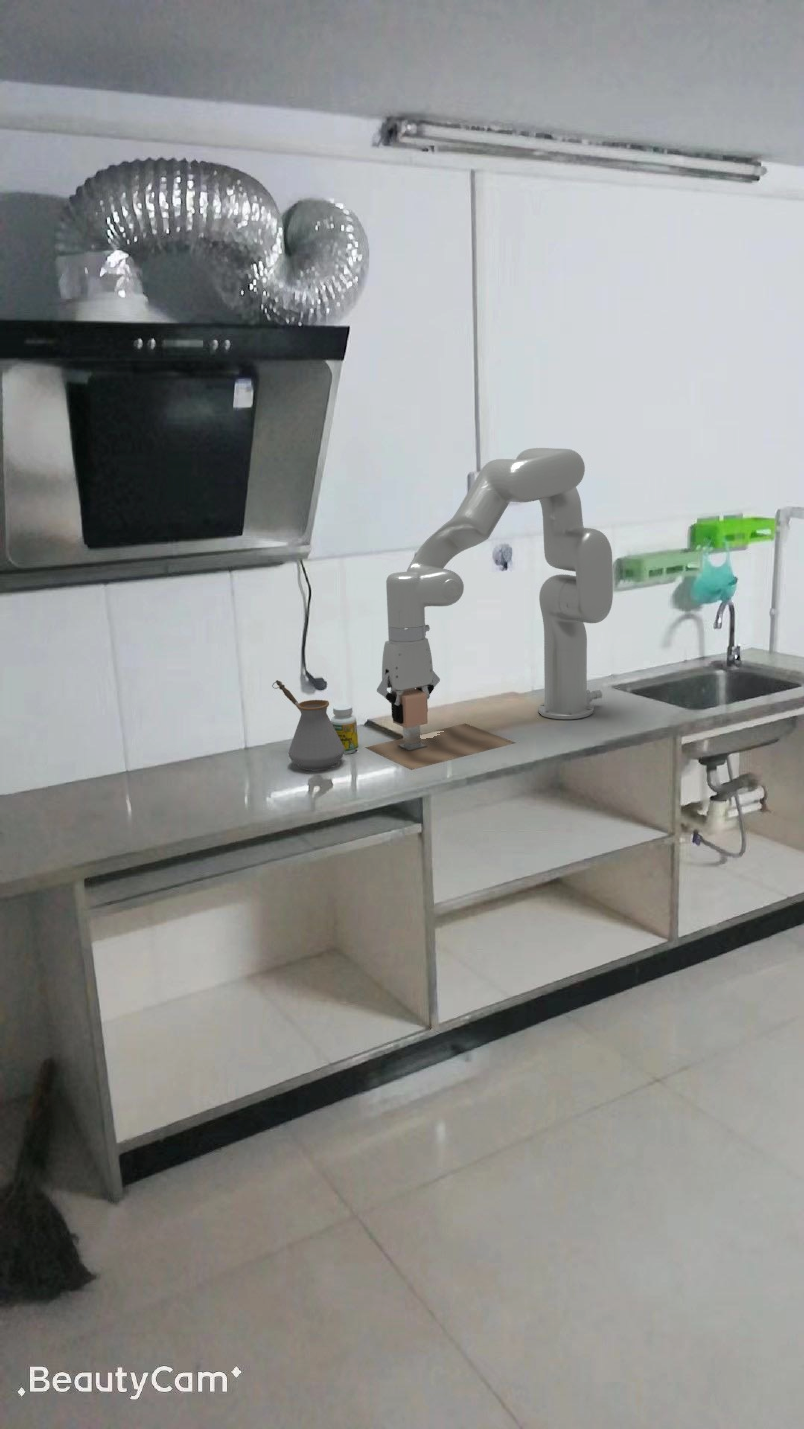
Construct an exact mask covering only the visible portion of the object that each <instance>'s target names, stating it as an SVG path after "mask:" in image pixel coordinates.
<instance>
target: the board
mask: <svg viewBox="0 0 804 1429" xmlns="http://www.w3.org/2000/svg"><path fill="white" fill-rule="evenodd" d="M435 731H444V732H440V733H437V734H440V735H437V736H434V737H433V738H426V739H421V743H422V744H424V745H427V747H425V748H421V749H416V750H412V751H407V750H405V749H403V748H401V747H399V746H398V745H399V744H403V743H404V741H403V738H399V739H395V740H391V741H386V742H383V743H378V744H374V745H370V746H366V747H365V749H367V750H369V751H372V752H373V753H375V754H376V755H379V756H382V757H384V758H386V759H388V760H390V761H392V762H394V763H396V764H398V765H401V766H402V767H404V768H407V769H409V770H411V771H412V770H416V769H420V768H424V767H428V766H432V765H435V764H439V763H444V762H447V761H452V760H455V759H458V758H459V759H460V758H462V757H466V756H470V755H474V754H478V753H483V752H487V751H490V750H493V749H496V748H497V749H498V748H501V747H506V746H509V745H513V744H516V742H515V741H512V740H509V739H507V738H504V737H502V736H500V735H497V734H495V733H491V732H489V731H486V730H484V729H480V728H478V727H476V726H473V725H471V726H470V724H468V723H462V724H458V725H455V726H448V727H445V728H441V729H436V730H435Z"/></svg>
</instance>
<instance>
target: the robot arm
mask: <svg viewBox="0 0 804 1429" xmlns="http://www.w3.org/2000/svg"><path fill="white" fill-rule="evenodd" d="M585 465H586V464H585V462H584V460H583V457H582V456H581V455H580V453H578V452H577V451H576V450H573V449H571V448H555V447H554V448H553V447H552V448H551V447H550V448H549V447H532V448H527V449H525V450H523V451H521V452H520V453H519V454H518V455H517V457H516V459H514V458H512V459H509V458H499V459H493V460H489V461H488V462H487V463H485V465H484V466H483V467H482V468H481V470H480V472H479V473H478V475H477V476H476V477H475V480H474V482H473V483H472V484H471V487H470V488H469V489H468V492H467V493H466V495H465V497H464V498H463V500H462V502H461V503H460V505H459V507H458V509H457V510H456V511H455V514H454V515H453V516H452V518H450V519H449V520H448V521H447V522H446V523H445V524H443V525H442V526H440V528H438V529H437V530H436V531H435V532H434V533H433V534H432V535H430V536H429V537H428V538H427V539H426V540H425V541H424V542H423V543H422V545H421V546H420V547H419V549H418V550H417V552H416V553H415V555H414V557H413V559H411V562H410V563H409V565H408V567H407V569H406V571H400V572H394V573H391V574H389V575H388V576H387V578H386V581H385V584H386V588H385V589H386V607H387V608H386V609H387V610H386V612H387V631H388V632H387V633H388V634H387V635H388V640H386V641H384V646H383V651H382V662H381V666H382V667H381V681H380V683H379V685H378V687H377V688H376V692H377V693H378V694H379V695H381V696H382V697H384V699H386V700H387V701H388V703H390V705H391V718H392V722H393V721H395V722H397V723H400V724H402V723H403V706H402V705H401V704H400V702H401V698H402V693H403V691H404V690H409V689H414V688H415V689H418V690H420V691H423V692H426V693H427V700H430V697H431V694H432V693H433V691H434V689H435V687H436V686H437V685H438V684H439V682H441V679H440V677H439V676H438V675H437V674H436V672H435V671H434V668H433V657H432V651H431V646H430V642H429V639H428V638H427V636H426V635H427V634H426V632H429V631H430V629H431V628H430V625H429V624H426V618H425V617H426V614H425V612H426V610H425V608H426V607H449V606H452V605H453V604H456V603H457V602H458V601H459V600H460V599H461V597H463V594H464V590H465V589H464V588H465V584H464V582H463V579H462V577H461V576H460V575H459V574H458V573H456V572H455V571H453V570H451V569H447V568H445V567H446V565H447V564H448V563H449V562H450V561H451V560H452V559H453V558H455V557H456V556H457V555H458V554H460V553H462V552H464V551H466V550H468V549H470V548H474V547H475V546H478V545H480V544H482V543H484V542H486V541H487V540H488V539H489V538H490V537H491V536H492V533H493V532H494V530H495V529H496V527H497V525H498V523H499V521H500V519H501V518H502V516H503V515H504V513H505V511H506V509H507V508H508V506H509V505H510V503H529V502H535V501H539V504H540V507H541V512H542V526H543V527H542V528H543V550H544V551H543V553H544V558H545V560H546V562H547V564H548V566H551V567H552V568H555V569H559V570H564V571H570V572H575V575H571V574H562V573H561V574H556V575H552V576H550V577H548V578H547V579H546V580H545V581H544V582H543V583H542V585H541V587H540V591H539V597H538V598H539V607H540V611H541V617H542V623H543V638H544V640H543V642H544V643H543V646H544V647H543V649H544V650H543V651H544V652H543V660H544V662H543V663H544V665H543V666H544V668H543V669H544V671H543V673H544V674H543V676H544V677H543V678H544V702H543V703H541V704H539V705H538V707H537V712H538V711H539V713H540V714H541V715H540V714H539V713H538V714H539V715H540V716H543V717H545V718H548V719H554V720H576V719H583V718H586V717H589V716H591V715H593V714H594V705H592V704H591V702H592V701H593V700H597V699H602V697H603V692H602V690H601V689H598V690H593V691H590V690H589V689H588V684H587V682H588V679H587V678H588V677H587V674H588V668H587V666H588V665H587V663H588V659H587V657H588V656H587V655H588V649H587V648H588V638H587V637H588V636H587V630H586V626H585V624H598V623H600V622H602V621H604V620H605V619H606V618H607V617H608V616H609V613H610V611H611V610H612V605H613V599H614V594H613V593H614V591H613V590H614V586H613V585H614V583H613V582H614V581H613V580H614V577H613V576H614V575H613V573H614V572H613V552H612V551H613V549H612V546H611V543H610V541H609V539H608V537H607V536H606V535H605V533H603V532H602V531H600V530H598V529H595V528H591V527H589V528H588V527H584V522H583V511H582V501H581V497H580V493H579V491H578V489H577V487H578V486H579V485H580V483H581V482H582V481H583V478H584V476H585V470H586V467H585ZM388 688H389V689H390V692H389V691H388V690H387V689H388ZM428 706H429V705H428V704H427V713H428V711H429V710H428V709H429V708H428Z"/></svg>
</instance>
